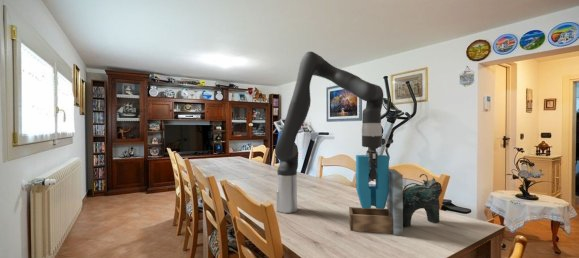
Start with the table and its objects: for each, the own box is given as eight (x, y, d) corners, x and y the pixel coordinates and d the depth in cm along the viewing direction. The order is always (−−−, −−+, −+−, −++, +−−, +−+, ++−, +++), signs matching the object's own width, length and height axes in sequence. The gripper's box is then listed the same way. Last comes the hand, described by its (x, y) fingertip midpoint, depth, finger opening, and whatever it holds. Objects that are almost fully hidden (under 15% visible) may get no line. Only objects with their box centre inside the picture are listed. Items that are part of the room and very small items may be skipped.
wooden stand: (350, 232, 100) (350, 173, 100) (349, 219, 113) (348, 168, 113) (403, 235, 96) (402, 175, 96) (394, 222, 110) (394, 169, 110)
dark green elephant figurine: (433, 218, 114) (433, 171, 114) (446, 223, 108) (446, 174, 108) (395, 223, 108) (394, 174, 108) (406, 229, 102) (406, 177, 102)
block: (386, 205, 107) (386, 155, 107) (389, 208, 102) (389, 156, 102) (356, 204, 108) (355, 155, 108) (357, 207, 103) (357, 156, 103)
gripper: (360, 134, 113) (360, 174, 113) (363, 135, 98) (363, 181, 99) (378, 134, 111) (379, 174, 111) (384, 135, 97) (385, 181, 97)
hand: (372, 177), depth 105 cm, fingers closed on block, 5 cm apart
